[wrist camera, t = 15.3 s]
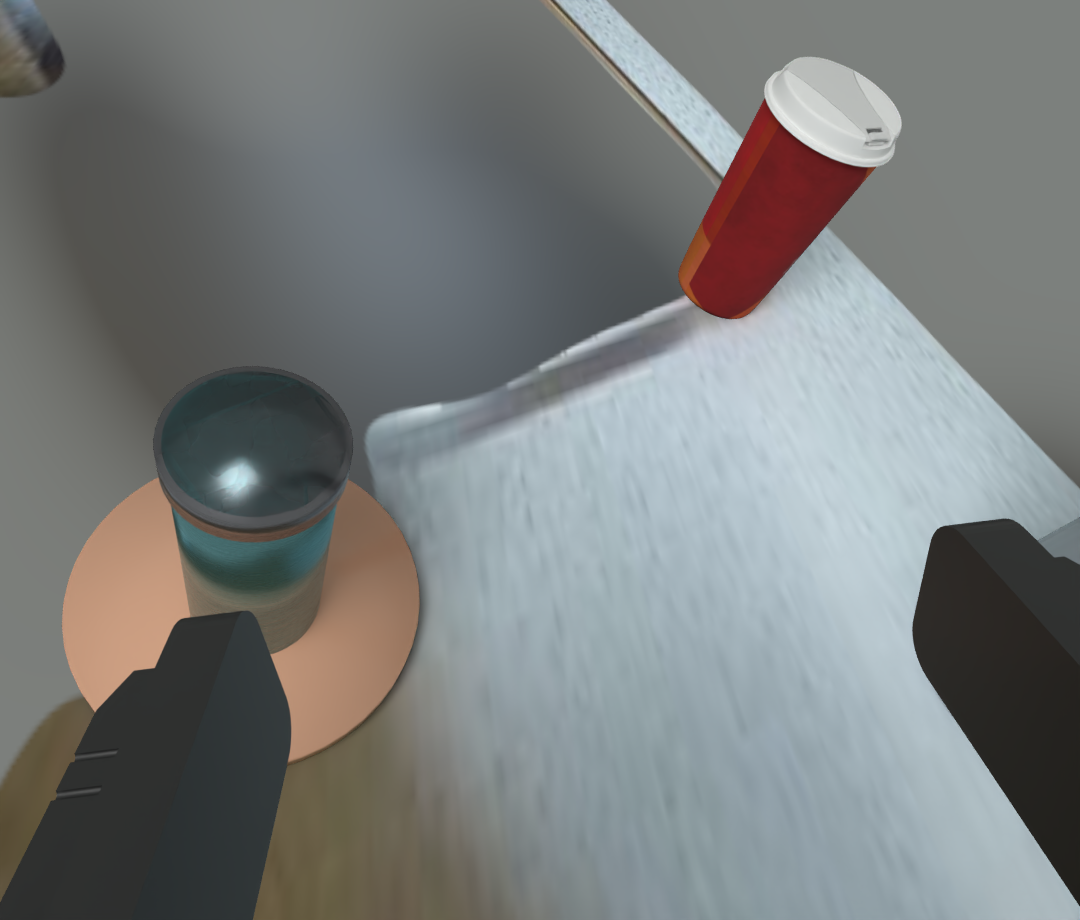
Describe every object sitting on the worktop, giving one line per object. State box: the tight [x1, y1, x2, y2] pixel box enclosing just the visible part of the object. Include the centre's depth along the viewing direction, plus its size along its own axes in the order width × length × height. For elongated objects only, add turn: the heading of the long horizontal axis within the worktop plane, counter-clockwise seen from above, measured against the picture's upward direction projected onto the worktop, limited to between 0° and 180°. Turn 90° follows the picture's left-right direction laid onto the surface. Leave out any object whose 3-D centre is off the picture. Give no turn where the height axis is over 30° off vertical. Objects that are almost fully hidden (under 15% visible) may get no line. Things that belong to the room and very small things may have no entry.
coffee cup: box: [678, 57, 901, 319], centre depth 49 cm, size 8×8×15 cm
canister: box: [153, 366, 353, 654], centre depth 28 cm, size 6×6×12 cm
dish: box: [62, 477, 420, 765], centre depth 33 cm, size 14×14×1 cm
